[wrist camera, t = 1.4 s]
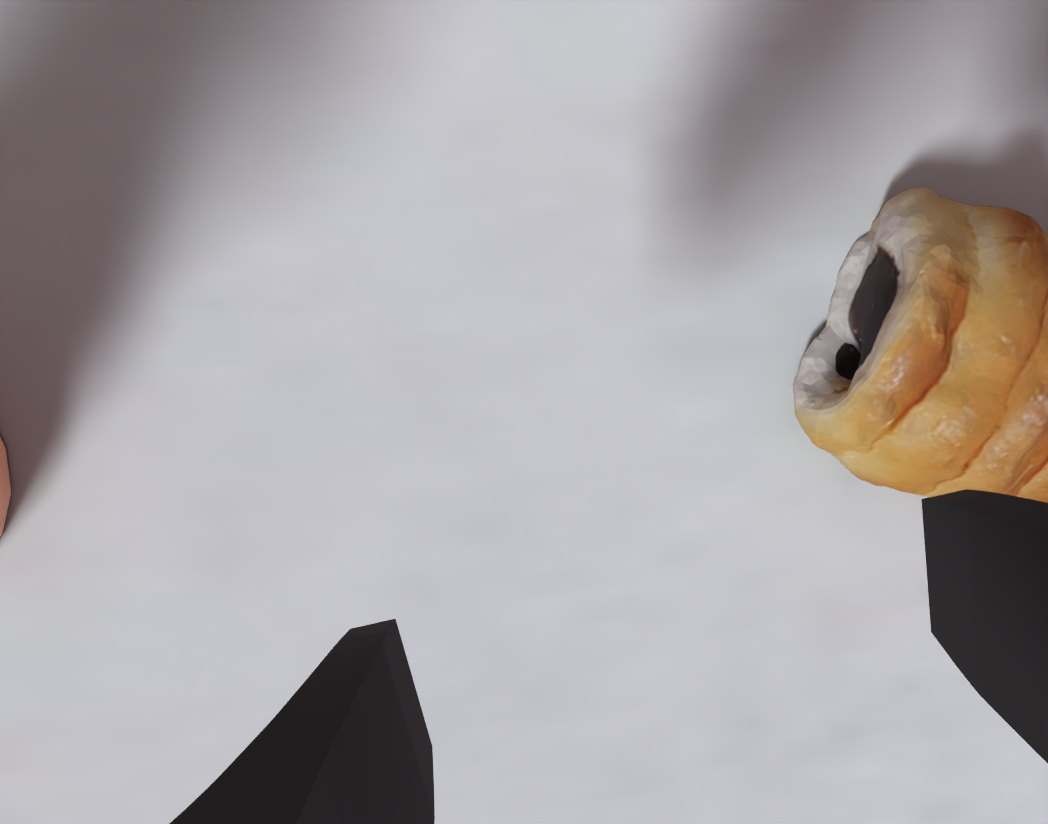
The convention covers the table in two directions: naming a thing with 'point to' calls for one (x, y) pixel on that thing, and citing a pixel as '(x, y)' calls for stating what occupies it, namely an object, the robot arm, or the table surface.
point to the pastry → (936, 352)
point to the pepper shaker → (4, 486)
